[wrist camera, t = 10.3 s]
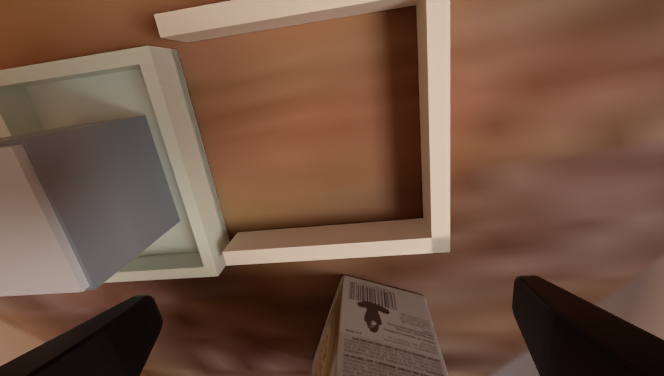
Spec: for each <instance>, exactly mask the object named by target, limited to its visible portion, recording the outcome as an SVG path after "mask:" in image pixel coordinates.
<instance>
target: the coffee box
mask: <svg viewBox="0 0 664 376" xmlns="http://www.w3.org/2000/svg"><path fill="white" fill-rule="evenodd" d="M311 376H448V373H447V369H446V366H445V363H444V359H443V356H442V353H441V349H440V346H439V343H438V339H437V336H436V332H435V328H434V326H433V322H432V319H431V315H430V312H429V309H428V305H427V302H426V299H425V297H424V296H422V295H419V294H415V293H411V292H407V291H404V290H400V289H396V288H392V287H388V286H385V285H381V284H377V283H373V282H369V281H365V280H362V279H358V278H354V277H350V276H347V275H343V276H342V278H341V280H340V283H339V285H338V288H337V291H336V294H335V297H334V300H333V303H332V306H331V309H330V311H329V314H328V317H327V320H326V323H325V326H324V329H323V332H322V335H321V338H320V341H319V344H318V347H317V350H316V353H315V356H314V359H313V364H312V370H311Z"/></svg>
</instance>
